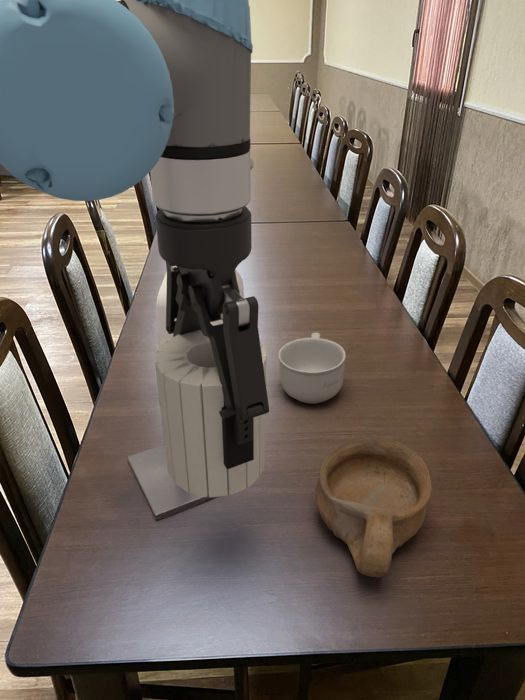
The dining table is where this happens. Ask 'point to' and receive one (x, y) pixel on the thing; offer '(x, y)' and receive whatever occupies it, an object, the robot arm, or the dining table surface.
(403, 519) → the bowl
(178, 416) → the paper towel roll
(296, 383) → the teacup
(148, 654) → the dining table surface
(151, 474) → the towel stand
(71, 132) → the robot arm
